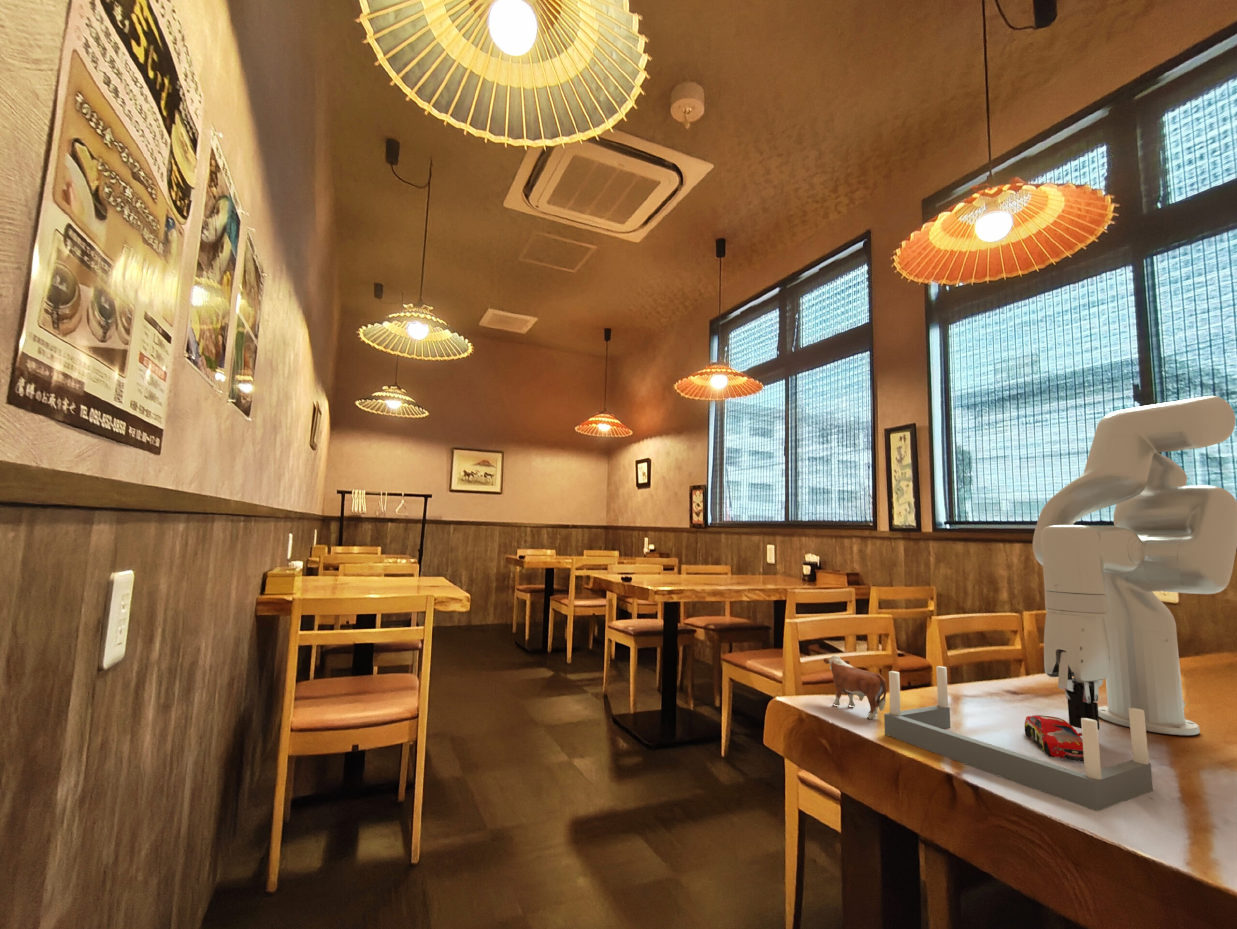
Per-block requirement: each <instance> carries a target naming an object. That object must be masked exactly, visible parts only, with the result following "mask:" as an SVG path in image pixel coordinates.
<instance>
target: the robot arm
mask: <svg viewBox="0 0 1237 929" xmlns="http://www.w3.org/2000/svg"><path fill="white" fill-rule="evenodd" d="M1235 427H1236V415H1235V411H1234V409H1233V408H1232V406H1231V405H1230V403H1229V402H1228V401H1227V400H1225V399H1223V398H1221V397H1220V396H1216V395H1207V396H1206V395H1205V396H1201V397H1192V398H1188V399H1180V400H1175V401H1167V402H1162V403H1156V404H1155V403H1154V404H1153V403H1152V404H1148V405H1142V406H1136V407H1130V408H1125V409H1123V408H1122V409H1120V410H1119V409H1118V410H1116V411H1112V412H1110V413H1108V414H1106V415H1105V416H1103V417H1102V418H1101V420H1099V422H1098V424H1097V426H1096V430H1095V433H1094V437H1093V440H1092V442H1091V447H1090V450H1089V454H1088V457H1087V460H1086V463H1085V467H1084V470H1083V473H1082V475H1080V476H1079V477H1078V478H1076V479H1074V480H1073V481H1071V482H1070V483H1068V484H1066V485H1065V486H1063V488H1062V489H1060V490H1059V491H1058V492H1057V493H1055V494H1054V495H1053V496H1052V497H1051V498H1050V499H1049V500H1047V502H1046V503H1045V505H1044V506H1043V507H1042V509H1041V510H1040V514H1039V516H1038V519H1037V523H1036V526H1035V529H1034V533H1033V537H1032V551H1033V556H1034V558H1035V560H1036V561H1037V562H1038V564H1040V565H1041V566H1042V570H1043V583H1044V584H1043V585H1044V586H1043V587H1044V603H1045V612H1046V615H1045V619H1044V620H1045V621H1044V630H1043V631H1044V634H1043V635H1044V636H1043V660H1044V661H1043V662H1044V663H1043V664H1044V666H1043V667H1044V673H1045V674H1046V675H1047V676H1048V677H1049V678H1058V679H1057V680H1058V682H1057V686H1058V689H1061V690H1063V691H1064V692H1065V693H1064V694H1065V698H1066V700H1067V711H1068V723H1069V724H1070V725H1071V726H1072V727H1073V728H1077V729H1081V730H1082V726H1081V718H1088V719H1093V720H1096V721H1097V726H1098V731H1099V730H1100V718H1101V719H1102V720H1104V721H1106V722H1110V723H1112V724H1116V725H1119V726H1123V727H1127V728H1130V719H1129V708H1136V709H1141V710H1144V715H1145V727H1146V732H1151V733H1156V734H1165V735H1170V736H1171V735H1174V736H1197V735H1199V734H1200V732H1201V731H1200V725H1199V724H1197V723H1196V722H1194V721H1192V720H1189V719H1186V717H1185V707H1186V702H1185V701H1184V696H1183V688H1182V676H1181V666H1180V656H1179V655H1180V654H1179V645H1178V634H1177V631H1178V630H1177V623H1176V620H1175V617H1174V615H1173V614H1172V612H1171V610H1170V609H1169V608H1168V607H1167V605H1166V604H1165V603H1163V601H1162V600H1161V599H1160V598H1159V597H1158V596H1157V595H1155V593H1154V592H1165V593H1166V592H1167V593H1180V594H1195V595H1196V594H1197V595H1213V594H1217V593H1221V592H1222V591H1224V590H1225V589H1227V587H1228V586H1229V584H1230V581H1231V578H1232V574H1233V570H1234V565H1235V564H1234V563H1235V559H1236V555H1237V554H1236V553H1237V499H1236V498H1235V497H1234V495H1233V494H1232V493H1231V492H1230V491H1228V490H1227V489H1224V488H1222V487H1219V486H1214V485H1187V483H1188V476H1187V472H1186V471H1185V469H1183V468H1182V467H1181V466H1180V465H1179V464H1177V463H1176V462H1175V461H1173V460H1172V459H1171V458H1169V457H1168V456H1166V455H1163V454H1161V453H1165V452H1175V451H1177V452H1178V451H1187V450H1194V449H1197V450H1198V449H1202V448H1207V447H1211V446H1213V445H1216V444H1220V443H1223V442H1225V441H1227V439H1229V438H1230V436H1232V434H1233V432H1234V430H1235ZM1114 505H1115V507H1114V512H1113V524H1114V525H1113V526H1112V525H1111V526H1110V525H1105V526H1104V525H1101V526H1099V525H1098V526H1095V525H1094V526H1092V525H1081V524H1080V525H1079V524H1075V523H1077V522H1078V521H1079V520H1080V519H1082V518H1083V517H1085V516H1087V515H1089V514H1091V513H1092V514H1093V513H1094V512H1096V511H1100V510H1103V509H1106V508H1110V507H1111V506H1114ZM1104 680H1105V685H1106V686H1105V687H1106V701H1107V705H1103V706H1099V703H1098V702H1099V698H1100V697H1099V695H1100V694H1099V691H1100V690H1099V688H1100V687H1101V686H1102V685H1103V684H1104Z"/></svg>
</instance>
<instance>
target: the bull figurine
mask: <svg viewBox="0 0 1237 929" xmlns="http://www.w3.org/2000/svg"><path fill="white" fill-rule="evenodd" d="M823 663H824V664H826V665H827V664H829V669H830V670H831V673H832V681H833V683H834V684H835V691H836V692H835V699H834V701H833V703H832V704H835V705H841V704H840V699H841V698H842V694H845V695H847V696H848V699H849V700H848V701H849V702H848V705H851V706H854V707H855V706H856V704H855V702H854V695H856V696H857V697H858V700H859V701H861V702H862V701H863V699H864V698H865V697H866V698H867V700H868V704H869V708H870V710H869V712H868V714H869V713H870V714H869V715H868V716H867V717H866V719H867V718H869V719H868V720H870V719H874V718H876V715H878V713H879V712H878V709H879V711H880V712H882V711H884V709H885V706H886V697H887V696H886V695H887V680H886V679H885V678H884V677H883V676H882V675H881V674H880V673H876V672H872V671H868V670H865V669H864V670H863V669H860V668H857V667H855V666H853V665H852V664H850V663H851V662H850V661H849V660H848V659H845V660H843V659H841V657H840V656H839V655H837V654H833V655H831V657H830V658H823ZM881 697H882V698H881ZM848 705H847V706H848Z"/></svg>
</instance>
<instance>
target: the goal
mask: <svg viewBox="0 0 1237 929" xmlns="http://www.w3.org/2000/svg"><path fill="white" fill-rule="evenodd" d="M935 667H936V686H937V688H936V689H937V691H936V693H937V705H930V706H925V707H924V706H923V707H919V708H912V709H905V710H901V685H900V684H901V683H900V672H898V671H895V670H894V671H893V670H891V671H888V681H889V682H888V683H889V684H888V685H889V686H888V687H889V712H886V713H884V714H883V717H884V718H883V720H884V735H885V734H886V735H885V736H887V735H889V736H891V737H890V738H892V737H894V738H893V739H895V738H896V740H899V741H900V740H901V742H903V741H904V742H903V743H906V744H909V745H911V746H915V747H917V748H921V749H923V750H926V751H928V752H932V753H934V754H937V755H939V756H942V757H945V758H948V759H951V760H954V761H956V762H959V763H961V764H964V765H967V766H970V767H973V768H975V769H979V770H981V771H985V772H987V773H990V774H992V775H995V776H997V777H1000V778H1004V779H1007V780H1010V781H1013V782H1014V783H1017V784H1020V785H1023V786H1026V787H1028V788H1031V789H1034V790H1037V791H1040V792H1042V793H1045V794H1048V795H1051V796H1052V797H1056V798H1059V799H1061V800H1064V801H1067V802H1071V803H1073V804H1076V805H1078V806H1081V807H1084V808H1087V809H1090V810H1093V811H1095V812H1099V811H1102V810H1104V809H1107V808H1109V807H1113V806H1115V805H1118V804H1120V803H1123V802H1126V801H1128V800H1132V799H1134V798H1136V797H1139V796H1141V795H1144V794H1147V793H1150V792H1152V791H1154V785H1153V776H1152V774H1153V773H1152V765H1151V764H1152V763H1150V762H1149V752H1148V751H1149V750H1148V741H1147V740H1148V739H1147V731H1146V727H1145V715H1144V710H1141V709H1136V708H1129V719H1130V727H1129V728H1130V740H1131V741H1130V742H1131V754H1132V759H1130V760H1127V761H1124V762H1121V763H1117V764H1113V765H1111V766H1107V767H1104V768H1101V766H1102V765H1101V755H1100V741H1099V740H1100V739H1099V730H1098V726H1097V721H1096V720H1093V719H1088V718H1081V726H1082V729H1081V733H1082V737H1081V738H1082V740H1083V753H1084V762H1083V763H1084V764H1083V765H1084V773H1082V772H1079V771H1076V770H1073V769H1070V768H1067V767H1064V766H1061V765H1057V764H1054V763H1051V762H1047V761H1045V760H1043V759H1038V758H1036V757H1035V758H1034V757H1032V756H1028V755H1026V754H1023V753H1020V752H1017V751H1013V750H1010V749H1007V748H1004V747H1001V746H997V745H994V744H991V743H989V742H984V741H982V740H978V739H975V738H972V737H969V736H966V735H962V734H959V733H957V732H953V731H951V730H947V729H949V728H951V708H950V706H949V698H948V696H949V695H948V673H947V672H948V671H947V666H940V665H938V666H935ZM889 736H888V737H889Z"/></svg>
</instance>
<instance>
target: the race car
mask: <svg viewBox="0 0 1237 929" xmlns="http://www.w3.org/2000/svg"><path fill="white" fill-rule="evenodd" d="M1024 733H1025V735H1026V736H1025V737H1027V738H1028V739H1029V740H1031V741H1032V742H1033V743H1035V744H1036V746H1038V747H1039V748H1040V749H1041V750H1042V751H1044V753H1045V755H1047V756H1048V757H1050V758H1059V759H1062V760H1068V761H1073V762H1081V763H1082V762H1083V763H1084V753H1083V740H1082V737H1081V736H1082V732H1078V731H1077V730H1076V729H1075V727H1073V726H1071V725H1070V724H1069V722H1067V721H1066V720H1064V719H1063V718H1060V717H1057V716H1049V715H1042V714H1041V715H1040V714H1039V715H1038V714H1037V715H1035V714H1033V715H1027V716H1025V720H1024Z"/></svg>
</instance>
